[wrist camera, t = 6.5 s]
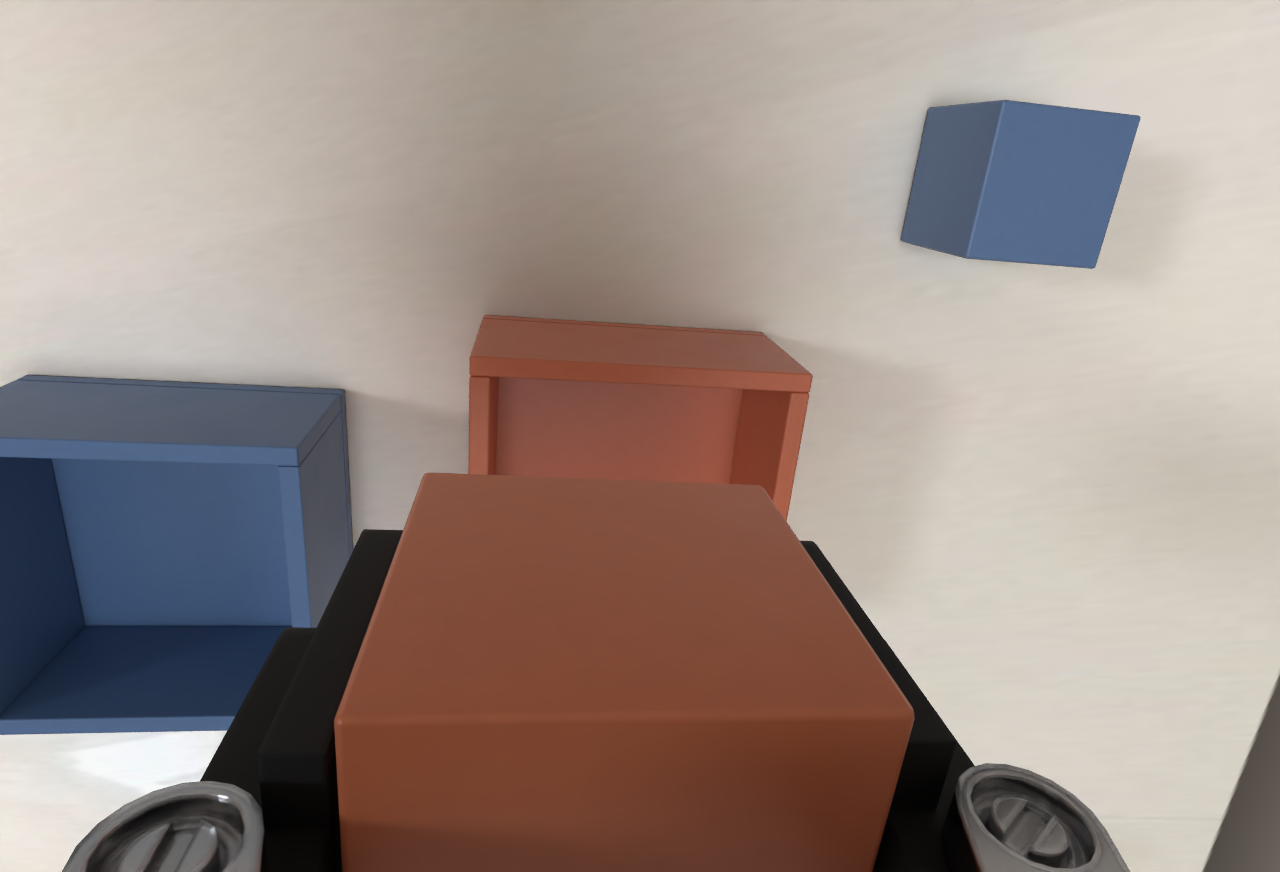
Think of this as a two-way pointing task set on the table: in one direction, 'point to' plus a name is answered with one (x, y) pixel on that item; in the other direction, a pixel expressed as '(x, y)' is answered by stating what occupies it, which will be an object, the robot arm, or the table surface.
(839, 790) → the terracotta block
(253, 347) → the table surface
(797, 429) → the terracotta bin
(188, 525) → the slate bin
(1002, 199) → the slate block
